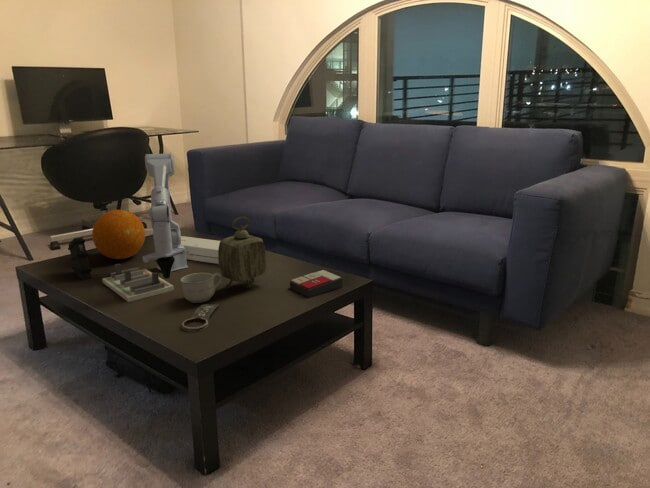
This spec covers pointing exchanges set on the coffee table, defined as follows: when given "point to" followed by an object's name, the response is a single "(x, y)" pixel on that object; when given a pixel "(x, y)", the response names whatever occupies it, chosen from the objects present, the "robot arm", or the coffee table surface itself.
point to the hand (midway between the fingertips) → (166, 277)
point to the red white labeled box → (316, 283)
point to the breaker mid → (127, 275)
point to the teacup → (199, 286)
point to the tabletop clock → (241, 256)
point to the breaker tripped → (155, 278)
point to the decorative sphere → (118, 234)
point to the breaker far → (118, 269)
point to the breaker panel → (136, 285)
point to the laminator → (201, 249)
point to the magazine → (80, 258)
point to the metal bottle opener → (200, 317)
